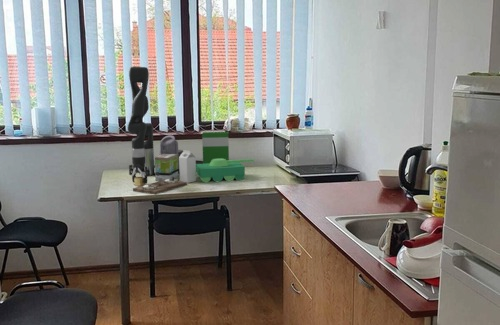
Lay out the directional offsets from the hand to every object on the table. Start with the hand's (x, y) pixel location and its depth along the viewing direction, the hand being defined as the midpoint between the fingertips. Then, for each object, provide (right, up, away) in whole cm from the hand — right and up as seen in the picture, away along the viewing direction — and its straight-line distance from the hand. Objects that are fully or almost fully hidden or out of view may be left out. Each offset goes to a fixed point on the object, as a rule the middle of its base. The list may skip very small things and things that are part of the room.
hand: (139, 183), depth 314 cm
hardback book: (+41, +9, +55) cm, 69 cm away
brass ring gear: (0, -1, 0) cm, 1 cm away
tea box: (+13, +2, +18) cm, 22 cm away
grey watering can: (+14, +6, +41) cm, 44 cm away
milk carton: (+27, 0, +8) cm, 29 cm away
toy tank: (+50, +2, +17) cm, 53 cm away
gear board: (+14, -2, -8) cm, 16 cm away
